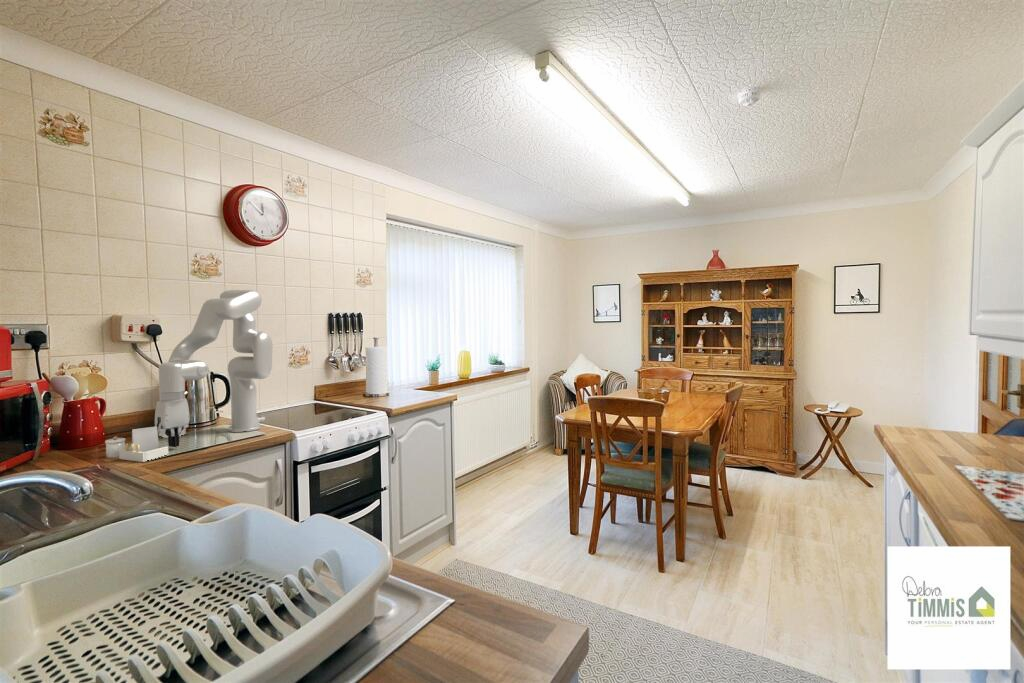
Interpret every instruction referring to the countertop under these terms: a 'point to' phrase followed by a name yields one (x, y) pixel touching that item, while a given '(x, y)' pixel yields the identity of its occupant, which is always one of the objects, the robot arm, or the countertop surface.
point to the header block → (141, 453)
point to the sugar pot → (114, 446)
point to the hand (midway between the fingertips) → (174, 446)
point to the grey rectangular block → (145, 438)
